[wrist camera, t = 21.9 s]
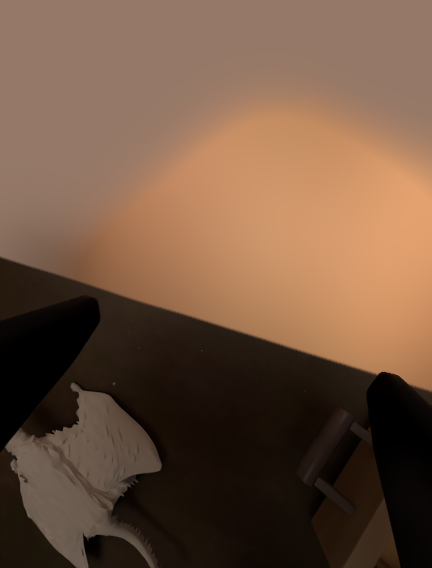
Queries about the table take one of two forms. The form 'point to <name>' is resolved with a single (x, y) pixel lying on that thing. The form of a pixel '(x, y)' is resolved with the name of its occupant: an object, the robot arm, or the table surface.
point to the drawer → (349, 499)
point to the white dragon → (84, 475)
